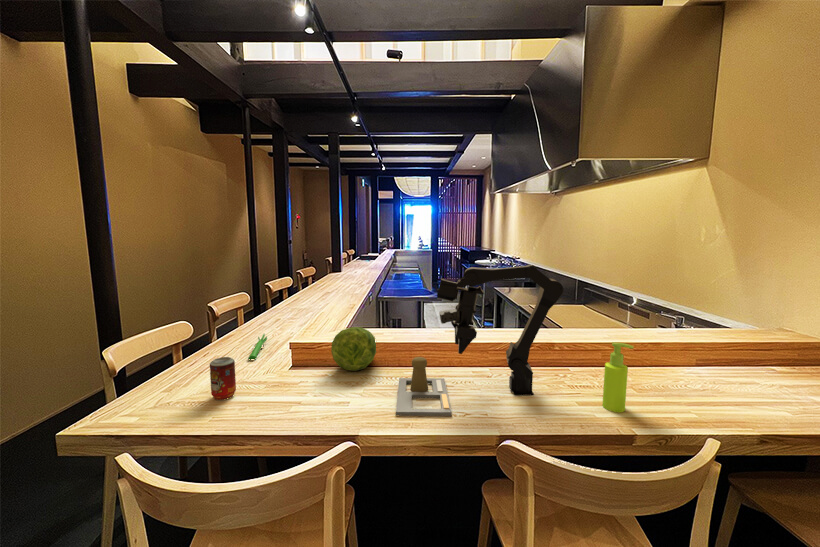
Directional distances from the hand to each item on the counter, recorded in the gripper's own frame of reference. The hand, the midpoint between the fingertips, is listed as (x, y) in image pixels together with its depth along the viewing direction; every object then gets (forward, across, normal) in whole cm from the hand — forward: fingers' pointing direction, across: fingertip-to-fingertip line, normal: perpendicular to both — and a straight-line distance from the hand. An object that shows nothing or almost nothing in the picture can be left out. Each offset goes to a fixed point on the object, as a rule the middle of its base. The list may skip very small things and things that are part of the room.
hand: (458, 348), depth 119 cm
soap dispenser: (+6, +15, +47) cm, 50 cm away
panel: (+15, +9, -10) cm, 20 cm away
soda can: (+26, +9, -73) cm, 78 cm away
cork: (+15, +3, -11) cm, 19 cm away
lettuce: (+20, -20, -34) cm, 45 cm away
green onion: (+29, -38, -83) cm, 95 cm away
